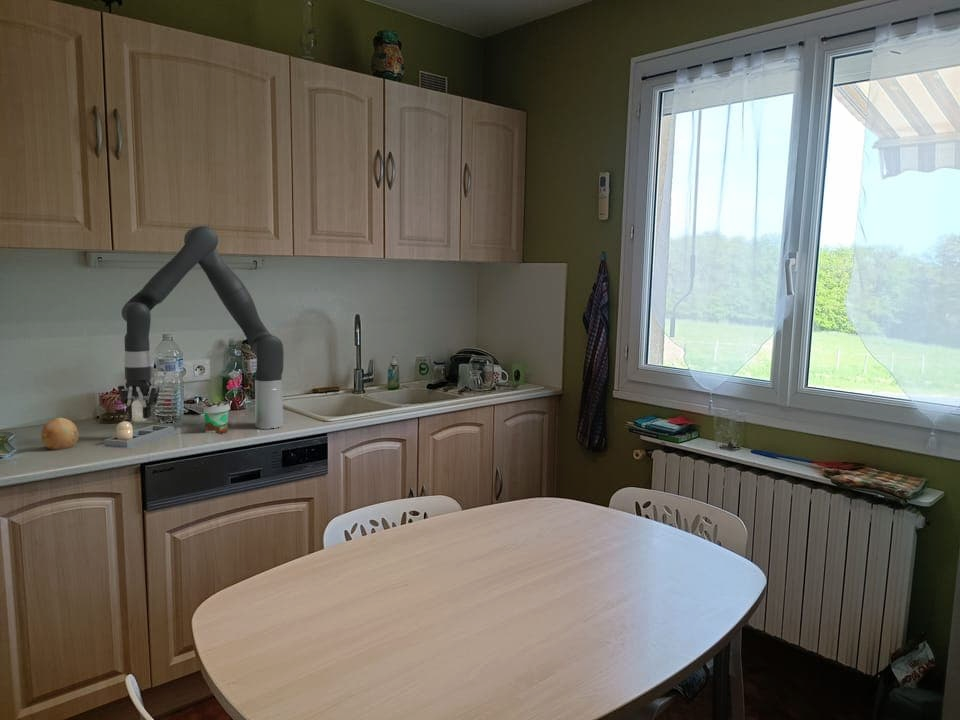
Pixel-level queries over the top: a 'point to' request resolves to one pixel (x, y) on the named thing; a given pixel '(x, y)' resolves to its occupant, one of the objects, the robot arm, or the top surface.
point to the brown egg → (124, 431)
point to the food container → (216, 417)
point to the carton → (141, 437)
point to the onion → (59, 434)
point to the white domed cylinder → (137, 410)
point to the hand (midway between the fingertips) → (139, 417)
